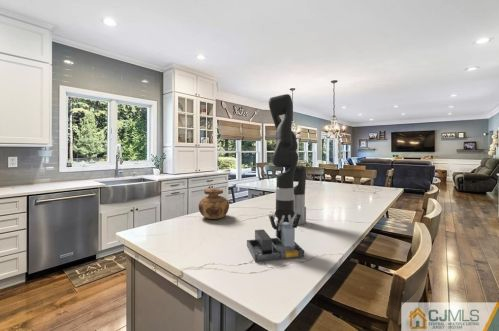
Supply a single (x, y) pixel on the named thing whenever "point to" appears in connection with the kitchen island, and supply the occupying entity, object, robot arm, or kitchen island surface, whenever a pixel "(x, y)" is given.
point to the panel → (287, 234)
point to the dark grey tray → (271, 248)
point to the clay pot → (213, 204)
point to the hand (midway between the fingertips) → (284, 237)
